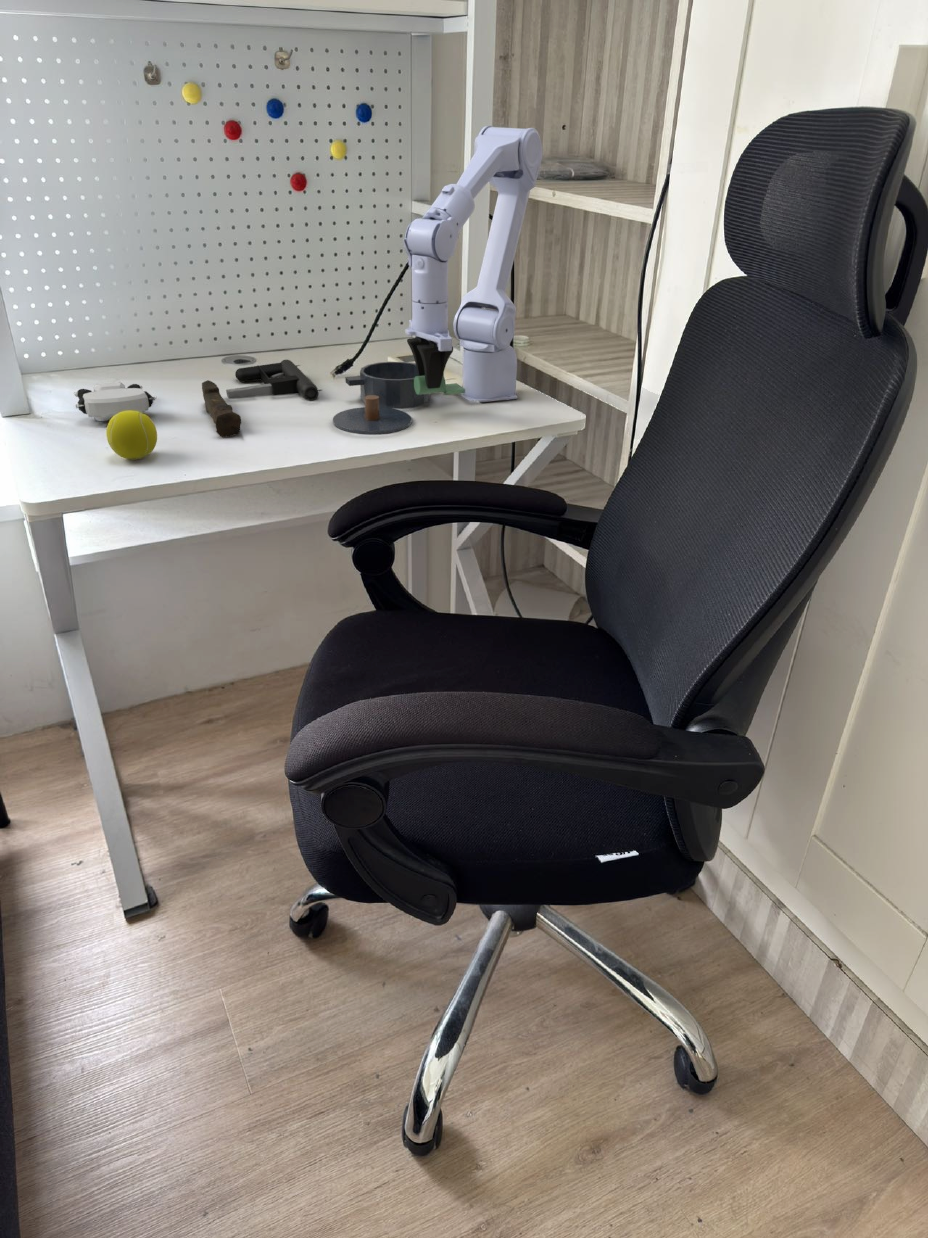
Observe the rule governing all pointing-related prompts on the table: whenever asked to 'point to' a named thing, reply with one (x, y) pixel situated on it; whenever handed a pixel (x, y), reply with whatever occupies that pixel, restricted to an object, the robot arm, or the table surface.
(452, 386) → the green cylinder on base
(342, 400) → the table surface
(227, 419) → the brown rough rod
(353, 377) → the pot
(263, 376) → the toy submachine gun
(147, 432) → the tennis ball
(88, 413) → the robot toy
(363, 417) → the pot lid
